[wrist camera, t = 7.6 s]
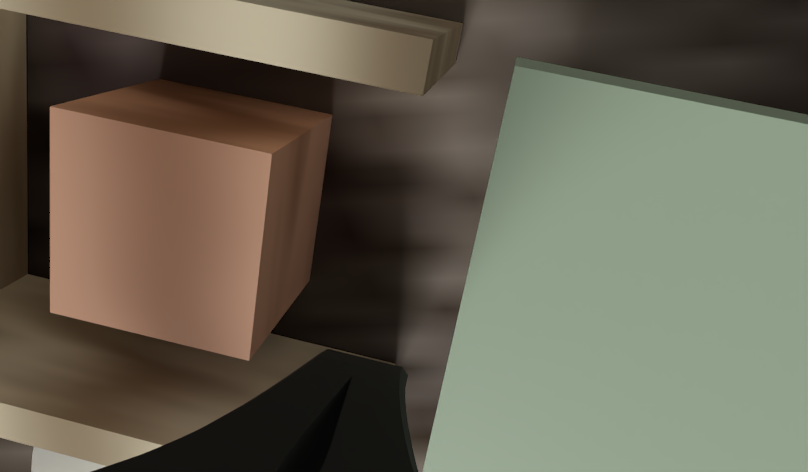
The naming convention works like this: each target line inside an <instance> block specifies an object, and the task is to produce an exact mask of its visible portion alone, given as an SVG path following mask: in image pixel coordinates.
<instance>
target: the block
mask: <svg viewBox="0 0 808 472" xmlns="http://www.w3.org/2000/svg"><path fill="white" fill-rule="evenodd" d="M331 122H332V114H327V113H322V112H317V111H312V110H308V109H303V108H298V107H293V106H288V105H283V104H279V103H274V102H269V101H264V100H259V99H255V98H250V97H245V96H240V95H235V94H230V93H226V92H221V91H216V90H211V89H206V88H201V87H197V86H192V85H187V84H182V83H177V82H172V81H168V80H163V79H157V80H153V81H149V82H145V83H141V84H137V85H133V86H129V87H125V88H121V89H117V90H113V91H109V92H105V93H101V94H97V95H93V96H89V97H85V98H81V99H77V100H73V101H69V102H65V103H61V104H57V105H53V106H50V313H55V314H59V315H63V316H67V317H71V318H75V319H79V320H83V321H87V322H91V323H96V324H100V325H104V326H108V327H112V328H116V329H120V330H124V331H128V332H132V333H137V334H141V335H145V336H149V337H153V338H157V339H161V340H165V341H169V342H173V343H178V344H182V345H186V346H190V347H194V348H198V349H202V350H206V351H210V352H214V353H219V354H223V355H227V356H231V357H235V358H239V359H243V360H247V361H250V359H251V358H252V357H253V355H254V354H255V353H256V351H257V350H258V349H259V347H260V346H261V345H262V343H263V342H264V341H265V339H266V338H267V337H268V335H269V334H270V333H271V331H272V330H273V329H274V327H275V326H276V325H277V323H278V322H279V321H280V319H281V318H282V317H283V315H284V314H285V313H286V311H287V310H288V309H289V307H290V306H291V305H292V303H293V302H294V301H295V299H296V298H297V297H298V295H299V294H300V293H301V291H302V290H303V289H304V287H305V286H306V285H307V283H308V282H309V281H310V274H311V267H312V260H313V252H314V245H315V238H316V231H317V223H318V216H319V209H320V202H321V194H322V187H323V180H324V173H325V165H326V158H327V151H328V144H329V137H330V129H331Z"/></svg>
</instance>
